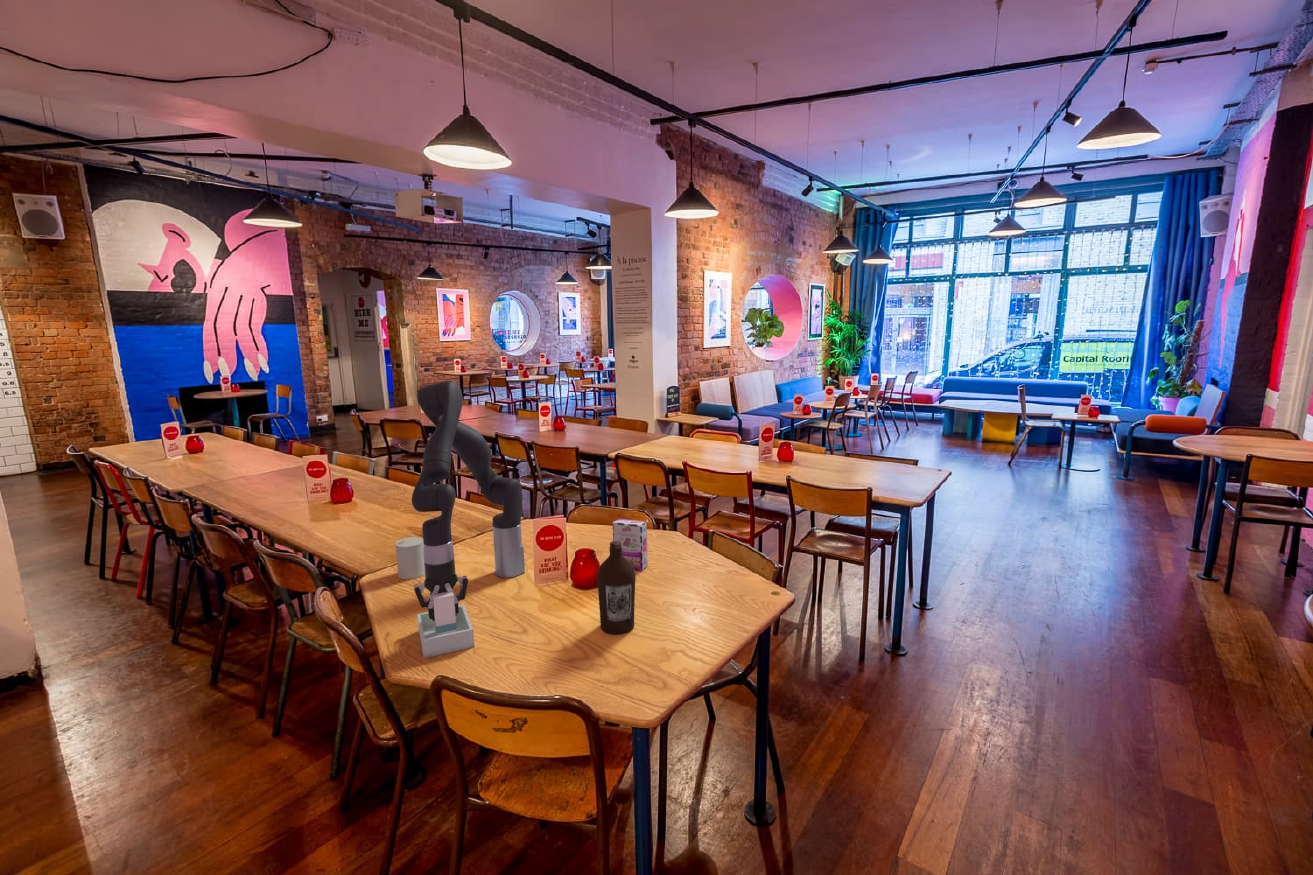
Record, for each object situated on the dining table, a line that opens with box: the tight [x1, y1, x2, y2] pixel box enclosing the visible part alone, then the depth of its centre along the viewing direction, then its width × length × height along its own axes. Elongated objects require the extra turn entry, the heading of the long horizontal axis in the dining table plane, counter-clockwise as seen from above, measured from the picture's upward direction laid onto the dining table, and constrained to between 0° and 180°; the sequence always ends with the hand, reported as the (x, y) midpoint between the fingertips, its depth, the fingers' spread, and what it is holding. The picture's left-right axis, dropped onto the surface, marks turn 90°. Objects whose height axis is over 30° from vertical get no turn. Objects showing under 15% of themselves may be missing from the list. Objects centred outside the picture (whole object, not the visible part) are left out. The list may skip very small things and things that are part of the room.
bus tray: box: [416, 604, 475, 660], centre depth 162 cm, size 13×16×5 cm
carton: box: [433, 592, 457, 636], centre depth 161 cm, size 5×8×12 cm, turn 26°
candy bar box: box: [612, 518, 649, 572], centre depth 207 cm, size 11×5×16 cm, turn 68°
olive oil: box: [596, 540, 637, 636], centre depth 165 cm, size 11×11×25 cm
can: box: [394, 536, 425, 580], centre depth 203 cm, size 9×9×12 cm
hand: (444, 616), depth 161 cm, fingers closed on carton, 5 cm apart
